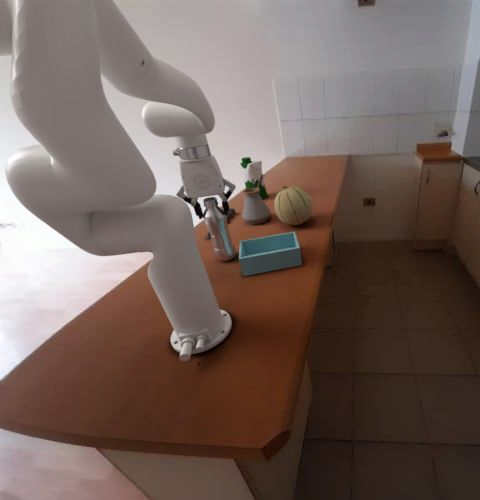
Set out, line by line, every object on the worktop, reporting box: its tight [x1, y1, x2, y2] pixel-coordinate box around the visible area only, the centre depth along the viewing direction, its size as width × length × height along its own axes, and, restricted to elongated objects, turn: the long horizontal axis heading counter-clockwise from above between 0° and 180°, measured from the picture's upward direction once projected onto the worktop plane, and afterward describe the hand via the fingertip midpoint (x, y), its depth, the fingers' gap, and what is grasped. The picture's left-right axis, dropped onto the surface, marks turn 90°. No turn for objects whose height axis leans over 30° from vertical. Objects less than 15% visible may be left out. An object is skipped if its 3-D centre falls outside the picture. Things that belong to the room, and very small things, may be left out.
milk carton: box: [238, 156, 268, 200], centre depth 134 cm, size 9×9×20 cm
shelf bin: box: [238, 231, 303, 277], centre depth 85 cm, size 11×17×6 cm, turn 104°
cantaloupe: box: [273, 185, 314, 226], centre depth 106 cm, size 15×15×15 cm
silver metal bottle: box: [202, 196, 237, 262], centre depth 85 cm, size 6×7×20 cm
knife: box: [206, 207, 236, 240], centre depth 112 cm, size 24×5×3 cm, turn 168°
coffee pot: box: [241, 174, 272, 225], centre depth 115 cm, size 21×12×15 cm, turn 174°
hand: (214, 214), depth 82 cm, fingers closed on silver metal bottle, 6 cm apart
